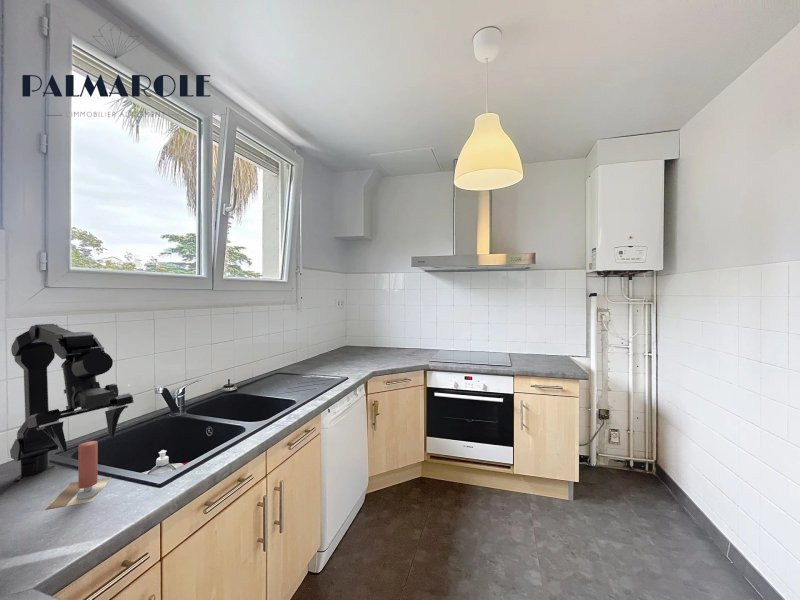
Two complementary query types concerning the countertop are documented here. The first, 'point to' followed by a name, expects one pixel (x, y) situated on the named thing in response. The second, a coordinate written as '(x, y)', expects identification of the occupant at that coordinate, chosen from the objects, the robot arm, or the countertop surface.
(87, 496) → the pink cylinder white base
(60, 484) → the countertop surface
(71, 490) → the board
